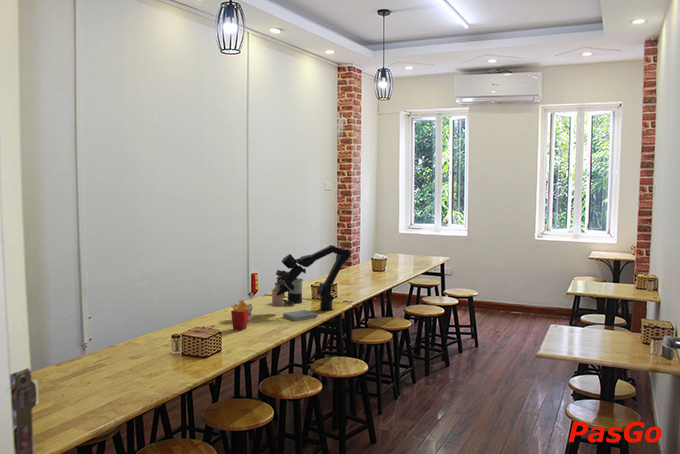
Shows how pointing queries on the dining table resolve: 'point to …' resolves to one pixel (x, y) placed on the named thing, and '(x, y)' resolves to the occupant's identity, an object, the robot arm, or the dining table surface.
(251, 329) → the dining table surface
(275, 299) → the sauce bottle
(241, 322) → the french fries
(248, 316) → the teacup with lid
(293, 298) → the milk frother
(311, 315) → the serving board
